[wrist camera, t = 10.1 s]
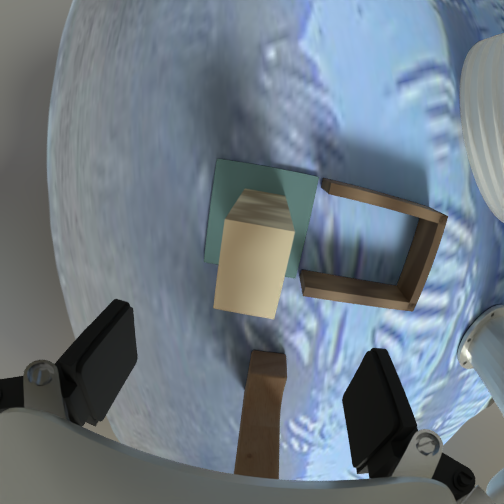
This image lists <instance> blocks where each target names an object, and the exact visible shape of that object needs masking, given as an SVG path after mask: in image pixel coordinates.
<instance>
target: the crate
mask: <svg viewBox="0 0 504 504" xmlns="http://www.w3.org/2000/svg"><path fill="white" fill-rule="evenodd" d="M321 188H322V189H323V190H325V191H326V192H327V193H328V194H331V195H335V196H340V197H344V198H348V199H352V200H356V201H360V202H364V203H368V204H372V205H376V206H380V207H384V208H387V209H391V210H395V211H398V212H402V213H405V214H409V215H412V216H416V217H419V221H418V224H417V228H416V231H415V234H414V238H413V241H412V244H411V247H410V250H409V253H408V256H407V259H406V262H405V265H404V267H403V270H402V273H401V275H400V278H399V281H398V283H397V286H395V285H389V284H383V283H377V282H372V281H366V280H360V279H354V278H348V277H342V276H336V275H331V274H325V273H319V272H313V271H308V270H301V274H300V283H301V288H302V294H303V296H307V297H313V298H319V299H326V300H332V301H339V302H346V303H353V304H360V305H367V306H374V307H382V308H389V309H397V310H405V311H413V310H414V308H415V306H416V304H417V301H418V299H419V297H420V295H421V292H422V290H423V287H424V285H425V282H426V280H427V277H428V275H429V272H430V270H431V267H432V264H433V262H434V259H435V256H436V253H437V250H438V247H439V244H440V241H441V238H442V235H443V232H444V229H445V225H446V222H447V218H448V216H446V215H444V214H442V213H440V212H438V211H436V210H434V209H432V208H430V207H427V206H424V205H421V204H418V203H415V202H412V201H408V200H405V199H402V198H399V197H395V196H392V195H388V194H385V193H381V192H378V191H374V190H370V189H367V188H363V187H359V186H355V185H351V184H347V183H343V182H339V181H335V180H331V179H326V178H323V181H322V185H321Z"/></svg>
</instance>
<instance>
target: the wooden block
mask: <svg viewBox="0 0 504 504" xmlns="http://www.w3.org/2000/svg"><path fill="white" fill-rule="evenodd" d="M286 380H287V363H286V355H285V354H281V353H272V352H264V351H256V350H254V351H253V352H252V353H251V359H250V364H249V370H248V375H247V381H246V386H245V391H244V399H243V407H242V415H241V423H240V431H239V439H238V446H237V454H236V462H235V469H234V474H236V475H243V476H250V477H258V478H268V479H279V437H280V409H281V402H282V396H283V391H284V387H285V383H286Z"/></svg>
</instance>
